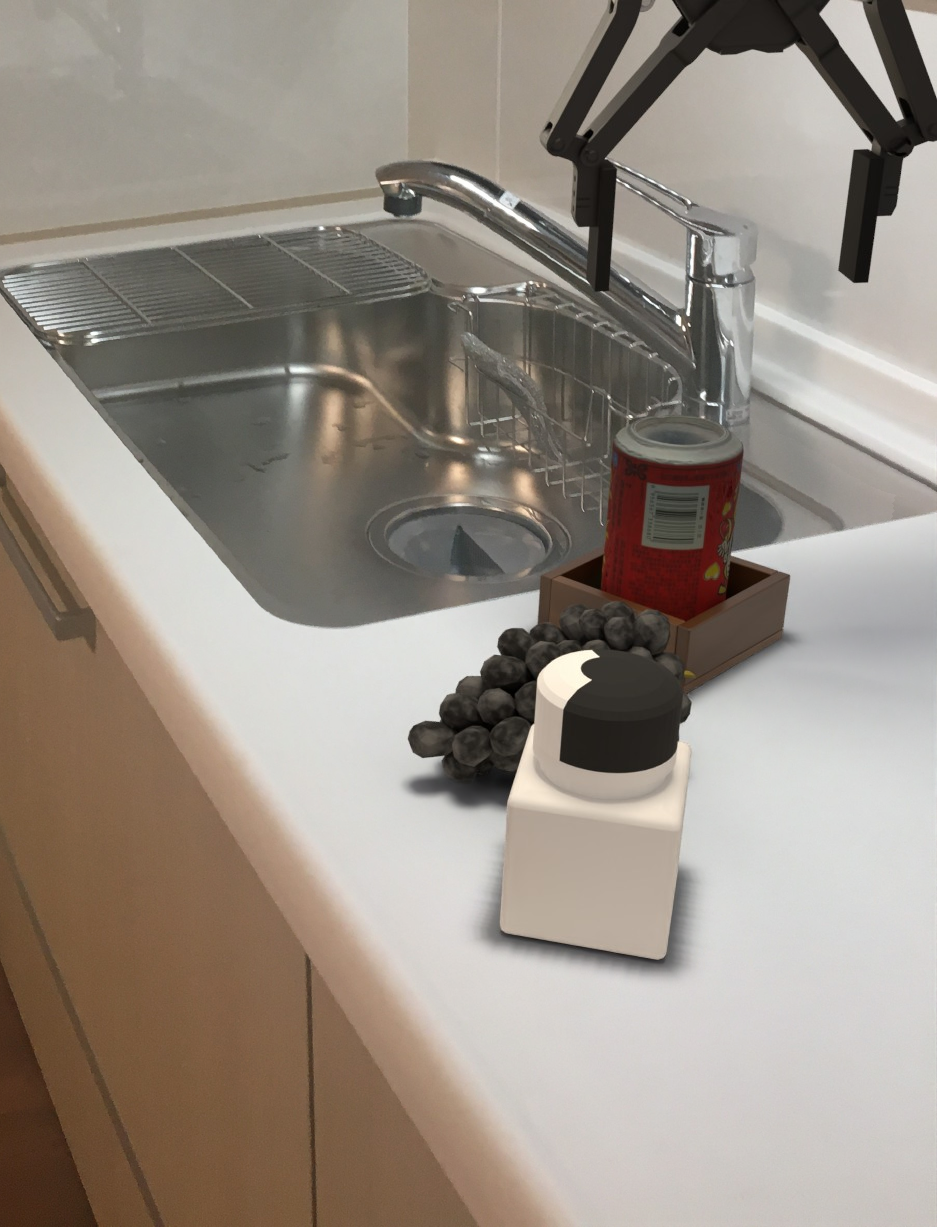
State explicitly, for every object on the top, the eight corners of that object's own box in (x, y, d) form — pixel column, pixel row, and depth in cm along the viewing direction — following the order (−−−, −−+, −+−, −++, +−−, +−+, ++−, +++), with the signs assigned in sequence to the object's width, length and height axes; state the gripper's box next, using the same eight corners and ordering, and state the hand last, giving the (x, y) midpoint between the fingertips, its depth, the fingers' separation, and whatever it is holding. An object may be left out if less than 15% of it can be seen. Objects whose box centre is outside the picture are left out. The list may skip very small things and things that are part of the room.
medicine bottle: (677, 872, 78) (704, 643, 73) (664, 964, 72) (692, 722, 67) (523, 848, 80) (538, 624, 75) (498, 935, 74) (512, 698, 69)
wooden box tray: (782, 637, 99) (791, 574, 97) (682, 696, 93) (690, 630, 91) (637, 586, 106) (643, 526, 104) (536, 637, 100) (540, 575, 98)
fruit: (425, 647, 80) (713, 597, 82) (369, 627, 88) (633, 582, 90) (445, 823, 81) (729, 768, 84) (388, 786, 89) (648, 737, 92)
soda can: (738, 650, 96) (762, 448, 90) (613, 654, 96) (630, 453, 91) (703, 597, 102) (724, 405, 97) (586, 601, 102) (600, 410, 97)
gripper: (518, -131, 80) (500, 306, 89) (1063, -160, 78) (988, 291, 87) (498, -136, 86) (484, 271, 95) (1000, -163, 84) (936, 256, 94)
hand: (724, 281), depth 91 cm, fingers open, 13 cm apart
